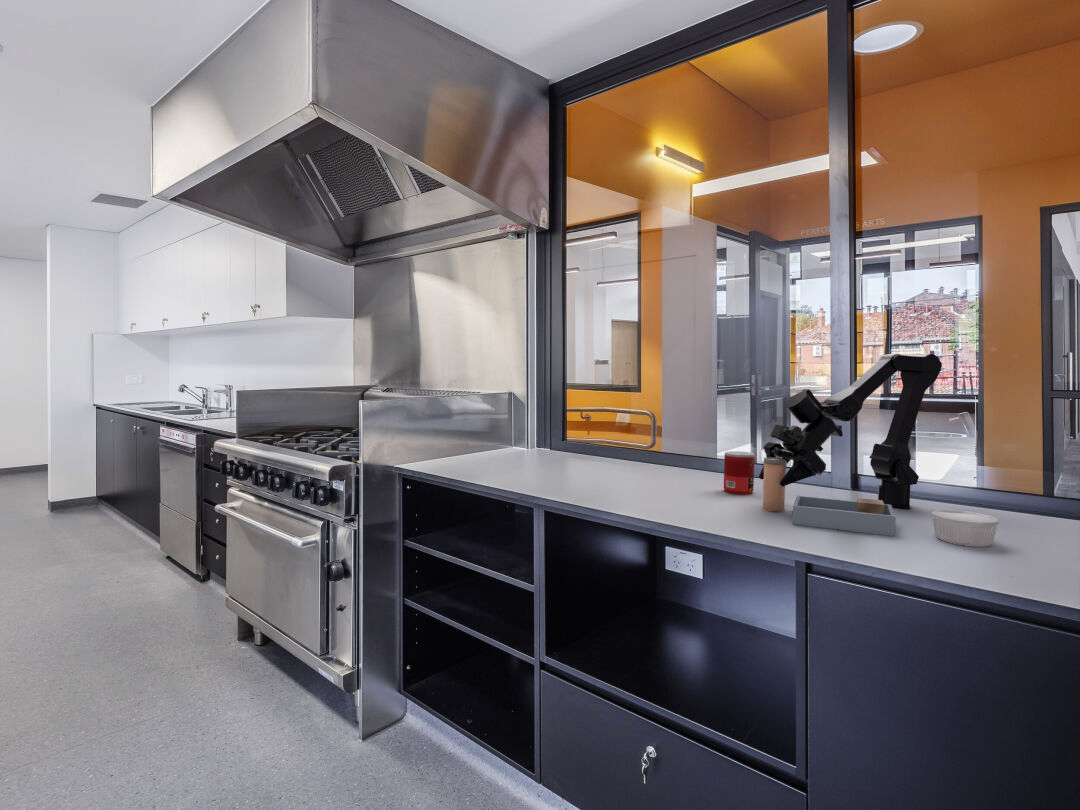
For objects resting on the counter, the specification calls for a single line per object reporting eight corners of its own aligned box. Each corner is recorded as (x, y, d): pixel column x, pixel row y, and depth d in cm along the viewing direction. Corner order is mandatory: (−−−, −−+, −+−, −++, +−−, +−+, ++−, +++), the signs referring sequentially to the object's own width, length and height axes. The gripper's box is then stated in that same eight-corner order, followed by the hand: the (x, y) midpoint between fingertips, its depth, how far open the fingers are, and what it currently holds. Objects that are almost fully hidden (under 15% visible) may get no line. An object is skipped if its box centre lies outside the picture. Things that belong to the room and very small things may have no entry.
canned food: (755, 495, 163) (756, 455, 162) (725, 493, 164) (726, 454, 163) (751, 489, 170) (752, 451, 169) (722, 488, 172) (723, 450, 171)
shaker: (785, 508, 147) (787, 458, 146) (783, 512, 143) (785, 461, 142) (763, 506, 150) (765, 456, 149) (760, 510, 145) (762, 459, 144)
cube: (881, 522, 132) (882, 500, 131) (883, 527, 127) (884, 504, 127) (856, 519, 134) (857, 497, 134) (856, 524, 130) (857, 502, 129)
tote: (890, 522, 134) (891, 504, 134) (894, 536, 123) (895, 516, 123) (796, 512, 143) (796, 495, 143) (792, 524, 132) (792, 506, 132)
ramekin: (963, 532, 127) (964, 508, 127) (1012, 548, 116) (1014, 521, 116) (917, 534, 125) (918, 509, 125) (963, 550, 114) (964, 523, 114)
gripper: (771, 410, 155) (730, 453, 153) (816, 416, 136) (770, 464, 135) (798, 440, 156) (757, 483, 155) (845, 450, 138) (800, 498, 137)
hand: (770, 481), depth 145 cm, fingers open, 9 cm apart
